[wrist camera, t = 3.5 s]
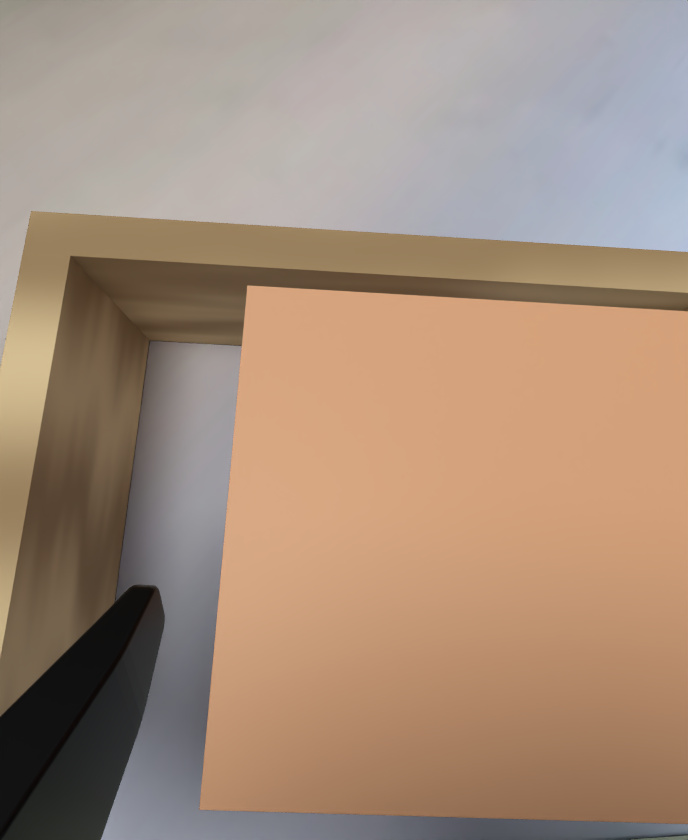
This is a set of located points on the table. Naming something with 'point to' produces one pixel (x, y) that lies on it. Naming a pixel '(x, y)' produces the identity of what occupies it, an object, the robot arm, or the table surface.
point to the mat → (667, 838)
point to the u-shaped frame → (194, 323)
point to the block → (454, 562)
